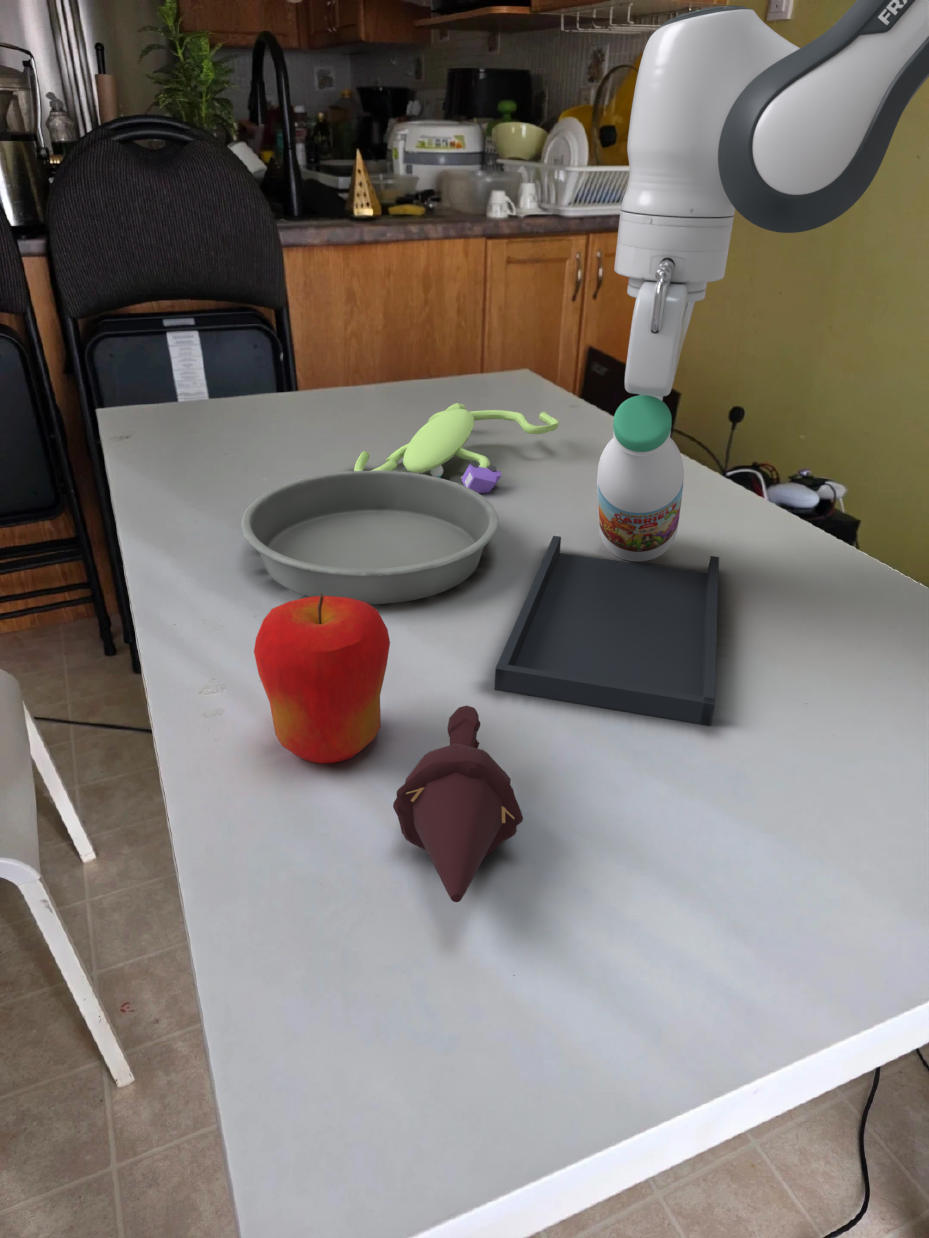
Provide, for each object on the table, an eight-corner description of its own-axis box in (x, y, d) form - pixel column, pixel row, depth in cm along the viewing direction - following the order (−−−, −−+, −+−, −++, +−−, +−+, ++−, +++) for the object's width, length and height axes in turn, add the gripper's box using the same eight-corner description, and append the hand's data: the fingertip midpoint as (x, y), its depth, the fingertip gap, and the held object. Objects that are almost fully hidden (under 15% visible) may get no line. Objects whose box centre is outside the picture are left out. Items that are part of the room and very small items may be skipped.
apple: (386, 704, 65) (383, 560, 60) (396, 777, 58) (393, 621, 52) (267, 712, 64) (252, 566, 58) (262, 787, 57) (245, 629, 51)
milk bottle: (586, 514, 90) (577, 401, 72) (655, 483, 90) (663, 362, 72) (620, 576, 87) (620, 475, 69) (691, 544, 87) (710, 434, 69)
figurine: (570, 449, 118) (574, 407, 115) (473, 513, 97) (474, 465, 95) (451, 425, 125) (452, 386, 123) (337, 480, 105) (335, 434, 102)
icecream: (548, 860, 43) (528, 706, 57) (402, 826, 42) (417, 678, 56) (506, 963, 46) (497, 792, 60) (368, 933, 45) (390, 766, 59)
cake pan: (190, 571, 83) (184, 527, 81) (348, 492, 102) (346, 454, 100) (407, 644, 73) (406, 596, 71) (539, 541, 91) (542, 500, 89)
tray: (551, 555, 89) (553, 535, 88) (715, 577, 85) (718, 556, 84) (494, 692, 67) (495, 668, 66) (709, 729, 64) (714, 704, 63)
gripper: (708, 272, 62) (678, 462, 68) (714, 241, 79) (690, 395, 86) (617, 266, 63) (597, 453, 70) (642, 237, 80) (624, 389, 87)
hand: (648, 420), depth 78 cm, fingers closed
